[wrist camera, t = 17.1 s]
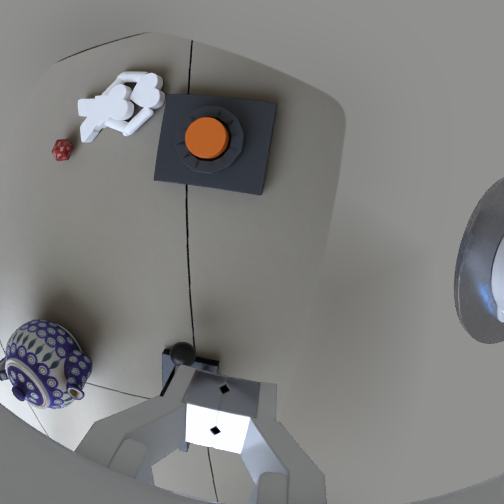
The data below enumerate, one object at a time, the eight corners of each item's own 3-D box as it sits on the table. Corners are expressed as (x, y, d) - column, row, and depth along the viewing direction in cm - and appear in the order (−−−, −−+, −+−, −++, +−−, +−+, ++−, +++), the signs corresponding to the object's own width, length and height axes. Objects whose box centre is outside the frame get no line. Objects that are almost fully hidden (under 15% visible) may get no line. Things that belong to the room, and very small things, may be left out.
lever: (175, 338, 35) (169, 339, 32) (200, 344, 34) (195, 345, 31) (161, 429, 31) (154, 437, 28) (184, 436, 31) (179, 444, 28)
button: (231, 122, 27) (229, 119, 25) (225, 160, 28) (222, 160, 26) (193, 118, 27) (188, 115, 25) (187, 156, 28) (182, 155, 26)
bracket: (164, 348, 38) (132, 403, 27) (219, 361, 38) (201, 422, 27) (165, 396, 41) (140, 449, 30) (213, 407, 41) (198, 465, 30)
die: (59, 150, 32) (45, 149, 29) (71, 135, 31) (58, 133, 29) (67, 165, 33) (53, 165, 30) (80, 150, 32) (66, 149, 29)
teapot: (38, 371, 44) (-1, 411, 30) (11, 307, 40) (-39, 340, 26) (132, 390, 42) (94, 452, 27) (104, 312, 38) (44, 367, 24)
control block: (276, 108, 29) (276, 99, 25) (262, 194, 32) (260, 196, 28) (173, 98, 30) (161, 89, 26) (160, 179, 32) (146, 180, 28)
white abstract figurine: (169, 121, 30) (160, 119, 28) (93, 151, 33) (82, 151, 31) (159, 58, 28) (151, 53, 26) (86, 93, 30) (77, 91, 28)
